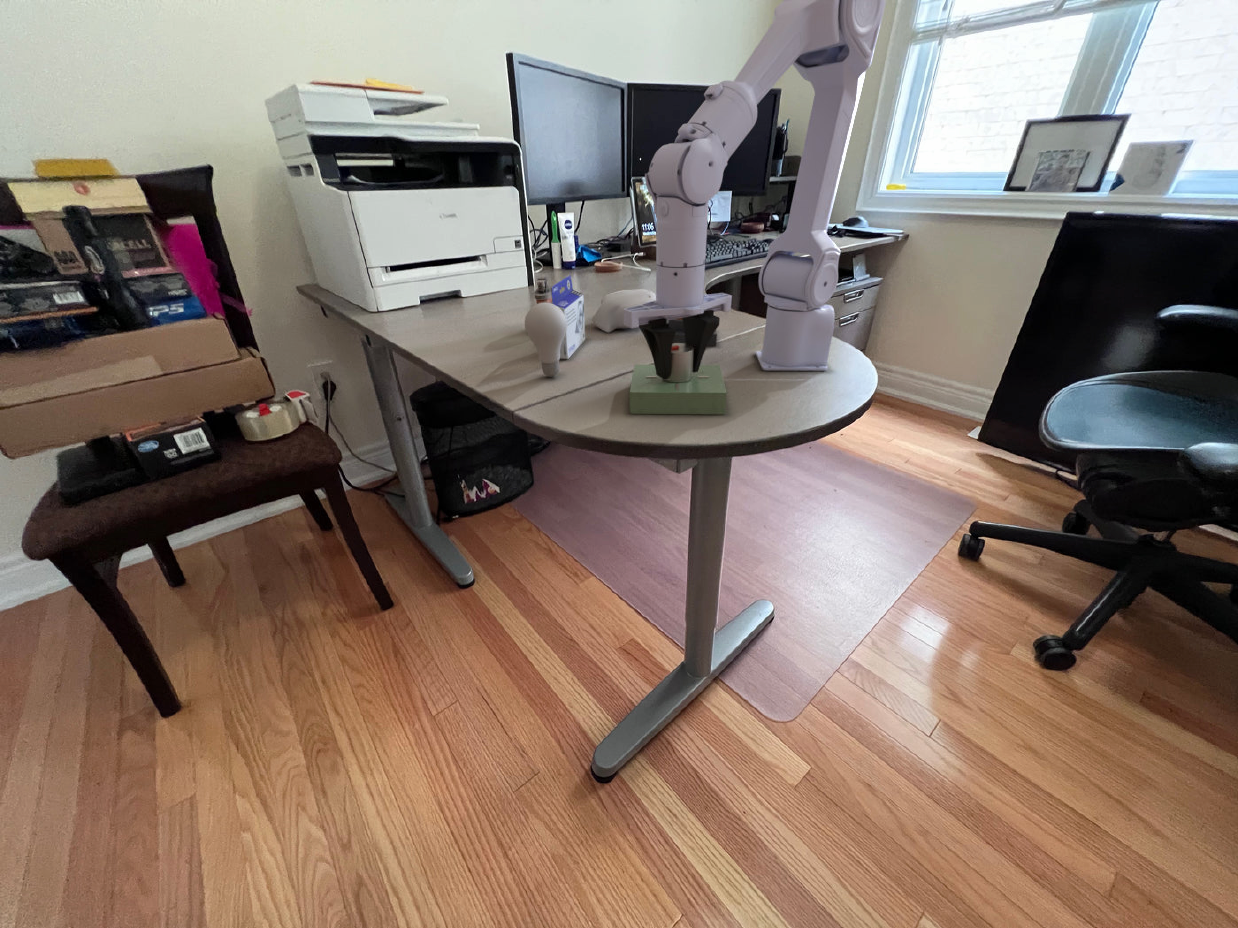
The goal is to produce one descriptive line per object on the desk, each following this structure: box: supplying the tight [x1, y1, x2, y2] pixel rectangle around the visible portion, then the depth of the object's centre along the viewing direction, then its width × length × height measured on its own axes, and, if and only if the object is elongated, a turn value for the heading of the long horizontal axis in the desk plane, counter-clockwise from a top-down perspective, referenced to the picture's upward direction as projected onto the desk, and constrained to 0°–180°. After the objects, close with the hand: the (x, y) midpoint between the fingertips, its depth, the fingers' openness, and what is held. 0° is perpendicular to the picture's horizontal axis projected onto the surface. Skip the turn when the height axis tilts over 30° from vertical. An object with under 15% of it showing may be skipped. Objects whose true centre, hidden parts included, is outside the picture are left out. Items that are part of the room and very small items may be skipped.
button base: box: [667, 318, 718, 347], centre depth 88 cm, size 10×10×4 cm
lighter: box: [533, 274, 552, 304], centre depth 94 cm, size 8×3×10 cm, turn 179°
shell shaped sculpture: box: [591, 288, 656, 333], centre depth 96 cm, size 13×13×6 cm
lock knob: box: [664, 343, 694, 383], centre depth 64 cm, size 4×4×4 cm
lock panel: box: [629, 364, 728, 416], centre depth 66 cm, size 12×10×3 cm
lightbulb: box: [524, 303, 567, 378], centre depth 72 cm, size 6×6×11 cm
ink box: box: [551, 274, 586, 360], centre depth 83 cm, size 12×2×12 cm, turn 168°
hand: (677, 373), depth 65 cm, fingers closed on lock knob, 4 cm apart
